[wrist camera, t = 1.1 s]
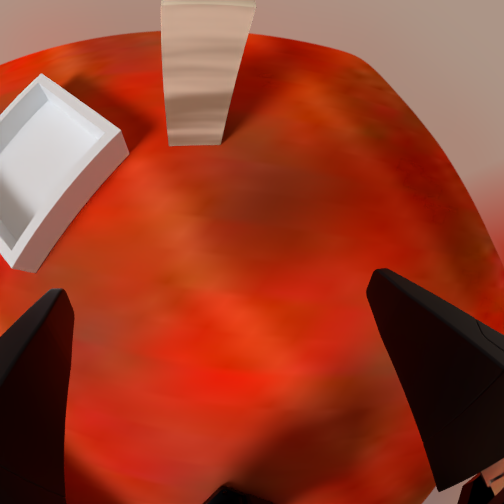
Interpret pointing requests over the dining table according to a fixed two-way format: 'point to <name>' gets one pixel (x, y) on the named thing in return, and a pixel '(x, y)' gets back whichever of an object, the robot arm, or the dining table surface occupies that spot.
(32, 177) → the box
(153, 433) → the dining table surface
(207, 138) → the birch block
